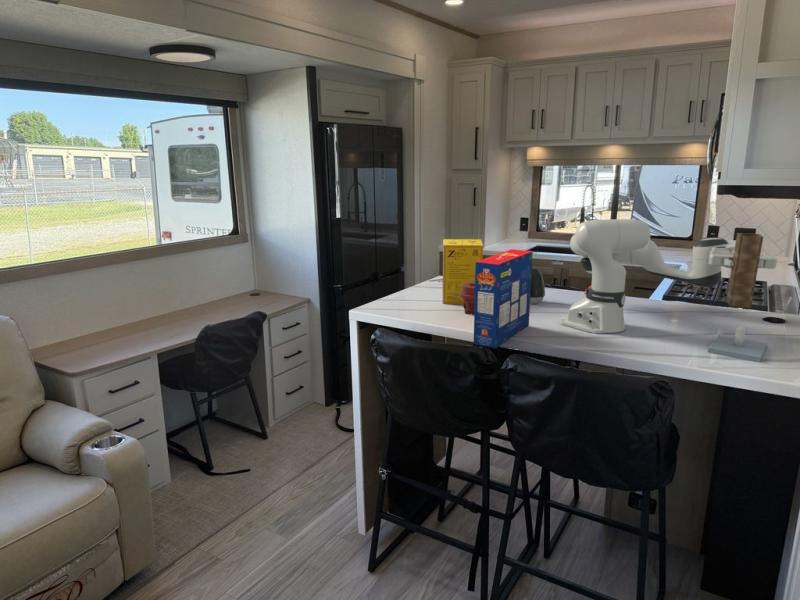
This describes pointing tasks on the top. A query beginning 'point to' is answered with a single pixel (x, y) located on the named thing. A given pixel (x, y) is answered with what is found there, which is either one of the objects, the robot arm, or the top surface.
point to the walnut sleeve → (744, 269)
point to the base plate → (738, 346)
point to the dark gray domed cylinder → (536, 287)
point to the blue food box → (502, 297)
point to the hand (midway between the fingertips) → (745, 264)
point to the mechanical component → (468, 297)
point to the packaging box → (459, 266)
